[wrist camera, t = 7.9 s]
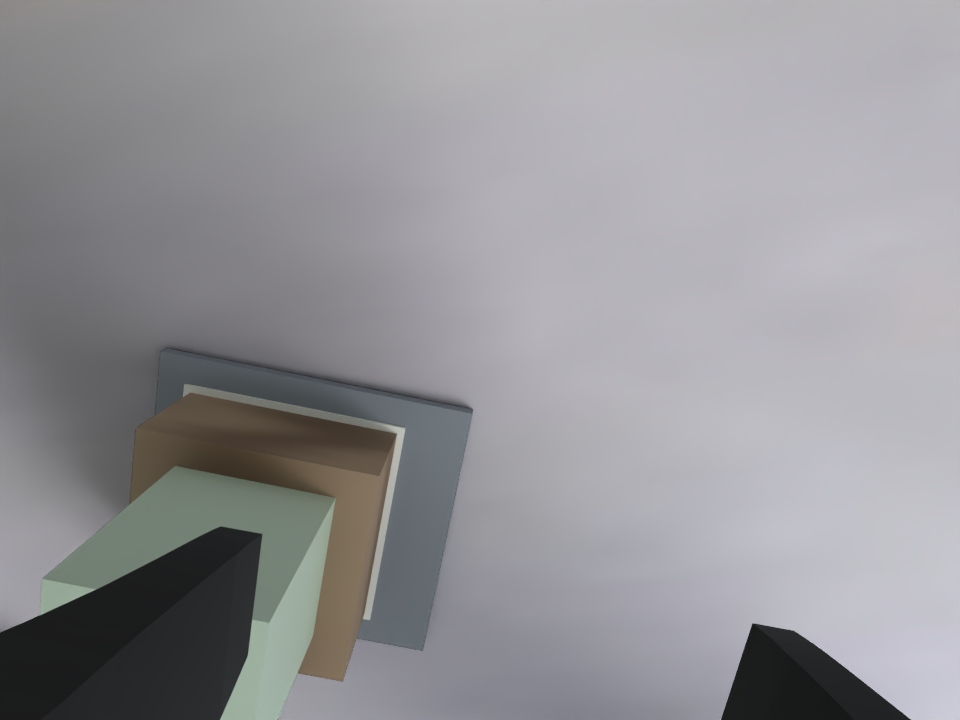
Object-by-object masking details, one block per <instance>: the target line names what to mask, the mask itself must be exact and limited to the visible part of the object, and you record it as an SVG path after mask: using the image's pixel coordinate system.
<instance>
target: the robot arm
mask: <svg viewBox="0 0 960 720" xmlns="http://www.w3.org/2000/svg"><path fill="white" fill-rule="evenodd" d="M261 542H262V534H260V533H255V532H249V531H244V530H238V529H233V528H228V527H222V526H220V527H218V528H216V529H213V530H211V531H209V532H207V533H205V534H203V535H201V536H199V537H197V538H195V539H193V540H191V541H189V542H187V543H186V544H184V545H182V546H180V547H178V548H176V549H174V550H172V551H170V552H169V553H167V554H165V555H163V556H161V557H159V558H157V559H155V560H153V561H151V562H149V563H147V564H145V565H144V566H142V567H140V568H138V569H136V570H134V571H132V572H130V573H128V574H126V575H124V576H122V577H120V578H118V579H116V580H114V581H112V582H110V583H108V584H106V585H104V586H102V587H100V588H98V589H96V590H94V591H92V592H90V593H87V594H85V595H83V596H81V597H79V598H77V599H74V600H72V601H70V602H68V603H66V604H63V605H61V606H59V607H57V608H55V609H53V610H50V611H48V612H46V613H44V614H42V615H40V616H37V617H35V618H33V619H31V620H29V621H27V622H24V623H22V624H20V625H17V626H15V627H13V628H10V629H8V630H5V631H3V632H1V633H0V720H220V719H221V717H222V714H223V712H224V710H225V708H226V705H227V703H228V701H229V699H230V696H231V694H232V692H233V690H234V687H235V685H236V682H237V680H238V678H239V675H240V673H241V671H242V668H243V666H244V664H245V661H246V659H247V657H248V650H249V642H250V634H251V625H252V617H253V609H254V600H255V592H256V584H257V575H258V567H259V559H260V550H261ZM721 720H910V719H909V718H908V717H907V716H905V715H904V714H903V713H902V712H900V711H899V710H898V709H896V708H895V707H894V706H893V705H891V704H890V703H889V702H888V701H886V700H885V699H884V698H883V697H881V696H880V695H879V694H878V693H876V692H875V691H874V690H873V689H871V688H870V687H869V686H867V685H866V684H865V683H864V682H862V681H861V680H860V679H859V678H857V677H856V676H855V675H854V674H852V673H851V672H850V671H849V670H847V669H846V668H845V667H843V666H842V665H841V664H839V663H838V662H837V661H836V660H834V659H833V658H832V657H830V656H829V655H828V654H826V653H825V652H824V651H822V650H821V649H820V648H818V647H817V646H816V645H814V644H813V643H811V642H810V641H808V640H807V639H805V638H804V637H802V636H801V635H799V634H798V633H796V632H795V631H791V630H786V629H780V628H775V627H769V626H764V625H758V624H752V627H751V630H750V633H749V636H748V639H747V642H746V645H745V648H744V651H743V654H742V657H741V660H740V664H739V667H738V670H737V673H736V676H735V679H734V682H733V685H732V688H731V691H730V694H729V697H728V700H727V703H726V706H725V710H724V713H723V716H722V719H721Z"/></svg>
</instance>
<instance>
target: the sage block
mask: <svg viewBox="0 0 960 720" xmlns="http://www.w3.org/2000/svg"><path fill="white" fill-rule="evenodd" d="M335 500H336V498H334V497H329V496H324V495H319V494H314V493H309V492H304V491H299V490H294V489H289V488H284V487H279V486H274V485H269V484H264V483H259V482H254V481H249V480H244V479H239V478H234V477H229V476H224V475H219V474H214V473H209V472H203V471H198V470H193V469H188V468H183V467H178V466H175V467H173V468H172V469H171V470H170V471H169V472H167V473H166V474H165V475H164V476H163V477H162V478H160V479H159V480H158V481H157V482H156V483H154V484H153V485H152V486H151V487H150V488H149V489H147V490H146V491H145V492H144V493H143V494H141V495H140V496H139V497H138V498H137V499H136V500H134V501H133V502H132V503H131V504H130V505H128V506H127V507H126V508H125V509H124V510H123V511H121V512H120V513H119V514H118V515H117V516H115V517H114V518H113V519H112V520H111V521H110V522H108V523H107V524H106V525H105V526H104V527H102V528H101V529H100V530H99V531H98V532H97V533H95V534H94V535H93V536H92V537H91V538H89V539H88V540H87V541H86V542H85V543H84V544H82V545H81V546H80V547H79V548H78V549H76V550H75V551H74V552H73V553H72V554H71V555H69V556H68V557H67V558H66V559H65V560H63V561H62V562H61V563H60V564H59V565H58V566H56V567H55V568H54V569H53V570H52V571H50V572H49V573H48V574H47V575H46V576H45V577H43V578H42V584H41V603H40V615H42V614H44V613H46V612H48V611H50V610H53V609H55V608H57V607H59V606H61V605H63V604H66V603H68V602H70V601H72V600H74V599H77V598H79V597H81V596H83V595H85V594H87V593H90V592H92V591H94V590H96V589H98V588H100V587H102V586H104V585H106V584H108V583H110V582H112V581H114V580H116V579H118V578H120V577H122V576H124V575H126V574H128V573H130V572H132V571H134V570H136V569H138V568H140V567H142V566H144V565H145V564H147V563H149V562H151V561H153V560H155V559H157V558H159V557H161V556H163V555H165V554H167V553H169V552H170V551H172V550H174V549H176V548H178V547H180V546H182V545H184V544H186V543H187V542H189V541H191V540H193V539H195V538H197V537H199V536H201V535H203V534H205V533H207V532H209V531H211V530H213V529H216V528H218V527H220V526H222V527H228V528H233V529H238V530H244V531H249V532H255V533H260V534H262V542H261V550H260V559H259V567H258V575H257V584H256V592H255V600H254V609H253V617H252V625H251V634H250V642H249V650H248V657H247V659H246V661H245V664H244V666H243V668H242V671H241V673H240V675H239V678H238V680H237V682H236V685H235V687H234V690H233V692H232V694H231V696H230V699H229V701H228V703H227V705H226V708H225V710H224V712H223V714H222V717H221V719H220V720H278V718H279V716H280V714H281V711H282V709H283V706H284V704H285V702H286V699H287V697H288V694H289V692H290V690H291V687H292V685H293V683H294V680H295V678H296V675H297V673H298V671H299V668H300V666H301V663H302V661H303V659H304V656H305V654H306V651H307V649H308V647H309V644H310V642H311V639H312V637H313V633H314V627H315V621H316V615H317V609H318V602H319V596H320V590H321V584H322V578H323V572H324V566H325V560H326V554H327V548H328V542H329V536H330V530H331V524H332V518H333V512H334V506H335Z"/></svg>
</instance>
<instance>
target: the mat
mask: <svg viewBox="0 0 960 720" xmlns="http://www.w3.org/2000/svg"><path fill="white" fill-rule="evenodd" d="M189 393H195V394H200V395H205V396H210V397H215V398H220V399H225V400H230V401H235V402H240V403H246V404H251V405H256V406H261V407H266V408H271V409H276V410H281V411H286V412H291V413H296V414H301V415H306V416H311V417H316V418H321V419H326V420H331V421H336V422H341V423H346V424H351V425H356V426H361V427H366V428H371V429H376V430H381V431H386V432H391V433H396V434H397V437H396V443H395V448H394V454H393V459H392V465H391V470H390V476H389V481H388V487H387V492H386V497H385V503H384V508H383V514H382V519H381V525H380V530H379V536H378V541H377V547H376V552H375V558H374V563H373V569H372V574H371V580H370V585H369V591H368V596H367V602H366V607H365V613H364V616H363V619H362V622H361V626H360V629H359V632H358V635H357V638H358V639H363V640H368V641H373V642H379V643H384V644H389V645H394V646H399V647H405V648H410V649H415V650H420V651H423V647H424V642H425V637H426V632H427V628H428V623H429V618H430V613H431V609H432V604H433V599H434V594H435V589H436V585H437V580H438V575H439V570H440V566H441V561H442V556H443V551H444V547H445V542H446V537H447V532H448V527H449V523H450V518H451V513H452V508H453V504H454V499H455V494H456V489H457V484H458V480H459V475H460V470H461V465H462V461H463V456H464V451H465V446H466V442H467V437H468V432H469V427H470V422H471V418H472V412H473V409H468V408H463V407H458V406H453V405H448V404H443V403H438V402H433V401H428V400H423V399H418V398H413V397H408V396H403V395H398V394H393V393H388V392H383V391H378V390H373V389H368V388H363V387H358V386H353V385H348V384H343V383H338V382H333V381H328V380H323V379H318V378H313V377H308V376H303V375H298V374H293V373H288V372H283V371H278V370H273V369H268V368H263V367H258V366H253V365H248V364H243V363H238V362H233V361H228V360H223V359H219V358H214V357H209V356H204V355H199V354H194V353H189V352H184V351H179V350H174V349H169V348H166V349H164V350H162V351H160V361H159V372H158V383H157V395H156V406H155V415H157V414H158V413H160V412H161V411H163V410H164V409H166V408H167V407H169V406H170V405H172V404H173V403H175V402H177V401H178V400H180V399H181V398H183V397H184V396H186V395H187V394H189Z"/></svg>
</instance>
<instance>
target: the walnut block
mask: <svg viewBox="0 0 960 720" xmlns="http://www.w3.org/2000/svg"><path fill="white" fill-rule="evenodd" d="M396 437H397V434H396V433H391V432H386V431H381V430H376V429H371V428H366V427H361V426H356V425H351V424H346V423H341V422H336V421H331V420H326V419H321V418H316V417H311V416H306V415H301V414H296V413H291V412H286V411H281V410H276V409H271V408H266V407H261V406H256V405H251V404H246V403H240V402H235V401H230V400H225V399H220V398H215V397H210V396H205V395H200V394H195V393H189V394H187V395H186V396H184V397H183V398H181V399H180V400H178V401H177V402H175V403H173V404H172V405H170V406H169V407H167V408H166V409H164V410H163V411H161V412H160V413H158V414H157V415H155V416H153V417H152V418H150V419H149V420H147V421H146V422H144V423H143V424H141V425H140V426H138V427H136V430H135V443H134V455H133V467H132V479H131V492H130V504H131V503H132V502H133V501H134V500H136V499H137V498H138V497H139V496H140V495H141V494H143V493H144V492H145V491H146V490H147V489H149V488H150V487H151V486H152V485H153V484H154V483H156V482H157V481H158V480H159V479H160V478H162V477H163V476H164V475H165V474H166V473H167V472H169V471H170V470H171V469H172V468H173V467H175V466H178V467H183V468H188V469H193V470H198V471H203V472H209V473H214V474H219V475H224V476H229V477H234V478H239V479H244V480H249V481H254V482H259V483H264V484H269V485H274V486H279V487H284V488H289V489H294V490H299V491H304V492H309V493H314V494H319V495H324V496H329V497H334V498H336V500H335V506H334V512H333V518H332V524H331V530H330V536H329V542H328V548H327V554H326V560H325V566H324V572H323V578H322V584H321V590H320V596H319V602H318V609H317V615H316V621H315V627H314V633H313V637H312V639H311V642H310V644H309V647H308V649H307V651H306V654H305V656H304V659H303V661H302V663H301V666H300V668H299V671H298V673H300V674H305V675H311V676H316V677H321V678H326V679H332V680H337V681H342V682H343V679H344V676H345V673H346V670H347V666H348V663H349V660H350V657H351V654H352V651H353V648H354V644H355V641H356V638H357V635H358V632H359V629H360V626H361V622H362V619H363V616H364V613H365V607H366V602H367V596H368V591H369V585H370V580H371V574H372V569H373V563H374V558H375V552H376V547H377V541H378V536H379V530H380V525H381V519H382V514H383V508H384V503H385V497H386V492H387V487H388V481H389V476H390V470H391V465H392V459H393V454H394V448H395V443H396ZM130 504H129V505H130Z"/></svg>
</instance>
